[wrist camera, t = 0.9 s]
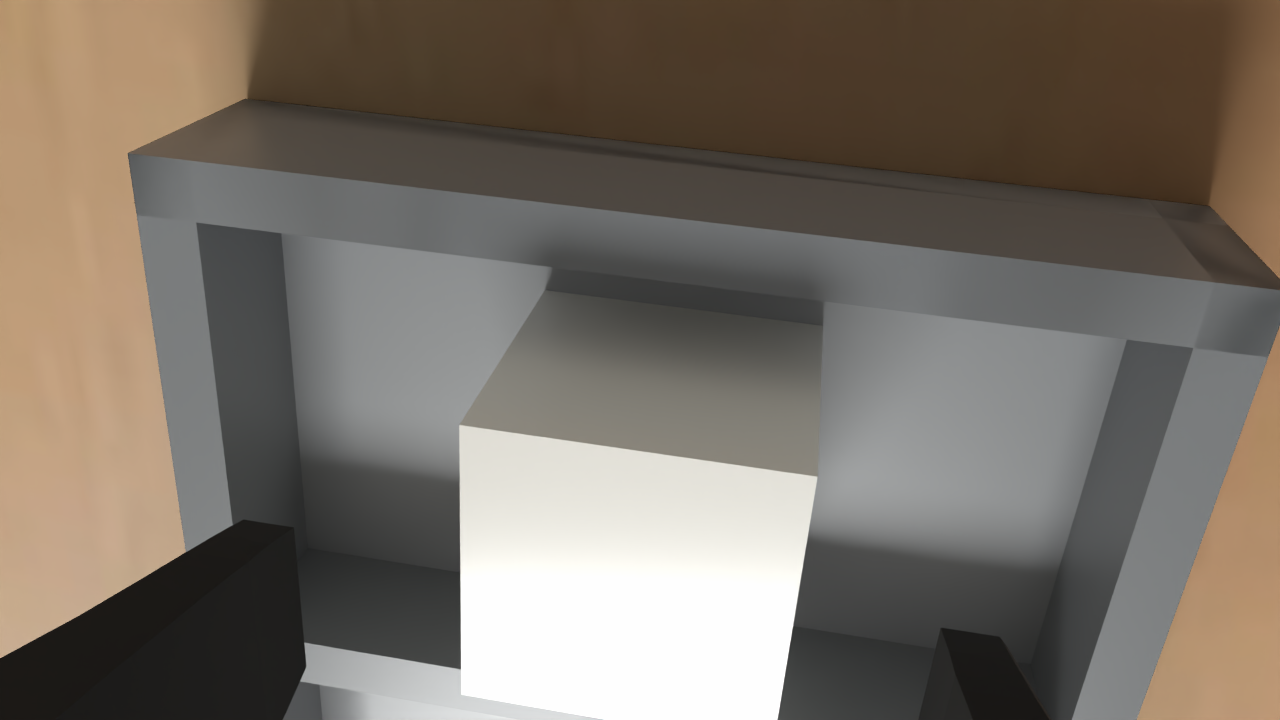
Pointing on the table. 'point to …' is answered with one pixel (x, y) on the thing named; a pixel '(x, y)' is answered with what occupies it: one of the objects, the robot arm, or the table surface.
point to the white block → (638, 511)
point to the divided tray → (718, 282)
